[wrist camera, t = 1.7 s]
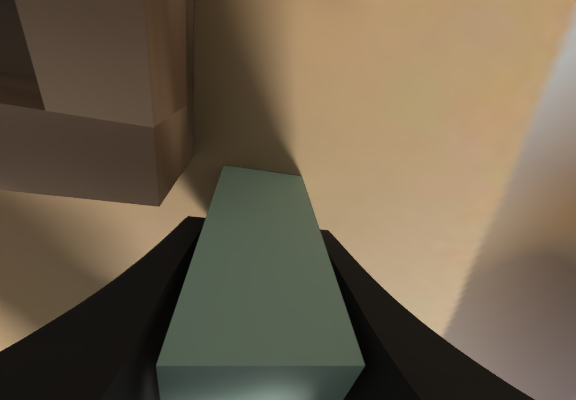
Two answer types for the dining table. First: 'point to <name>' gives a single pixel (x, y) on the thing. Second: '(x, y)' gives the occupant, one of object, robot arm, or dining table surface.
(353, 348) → the square peg
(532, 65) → the dining table surface
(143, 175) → the hole block
